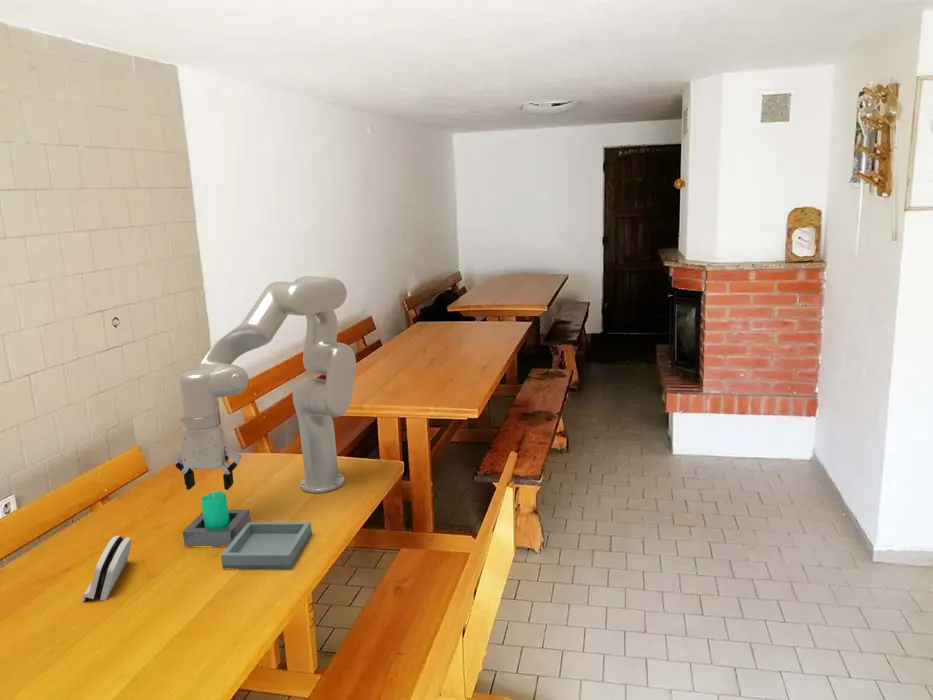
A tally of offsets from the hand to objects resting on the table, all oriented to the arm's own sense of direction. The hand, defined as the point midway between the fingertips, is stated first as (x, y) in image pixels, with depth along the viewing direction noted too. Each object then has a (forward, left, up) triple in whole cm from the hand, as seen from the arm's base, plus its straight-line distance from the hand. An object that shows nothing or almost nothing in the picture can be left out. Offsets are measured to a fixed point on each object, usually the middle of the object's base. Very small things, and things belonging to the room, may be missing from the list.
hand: (209, 487), depth 176 cm
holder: (-1, 0, -13) cm, 13 cm away
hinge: (+20, -16, -14) cm, 29 cm away
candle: (-1, 0, -13) cm, 13 cm away
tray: (+7, +16, -13) cm, 22 cm away
